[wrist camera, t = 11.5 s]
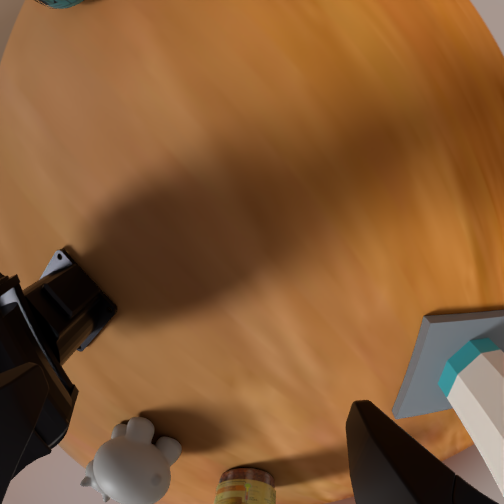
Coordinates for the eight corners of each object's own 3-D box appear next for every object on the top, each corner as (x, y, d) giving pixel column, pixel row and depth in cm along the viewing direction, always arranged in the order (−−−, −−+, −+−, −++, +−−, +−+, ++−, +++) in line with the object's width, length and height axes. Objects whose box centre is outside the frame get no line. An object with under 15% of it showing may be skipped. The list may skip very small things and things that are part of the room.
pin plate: (391, 410, 23) (405, 442, 19) (423, 315, 20) (449, 344, 16) (506, 384, 23) (524, 406, 19) (539, 305, 20) (563, 323, 16)
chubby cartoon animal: (78, 428, 26) (48, 480, 18) (144, 403, 24) (112, 475, 16) (123, 465, 28) (102, 518, 19) (195, 448, 25) (179, 517, 17)
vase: (451, 403, 22) (507, 503, 9) (430, 374, 20) (500, 493, 8) (497, 361, 20) (568, 448, 8) (483, 326, 19) (576, 422, 7)
